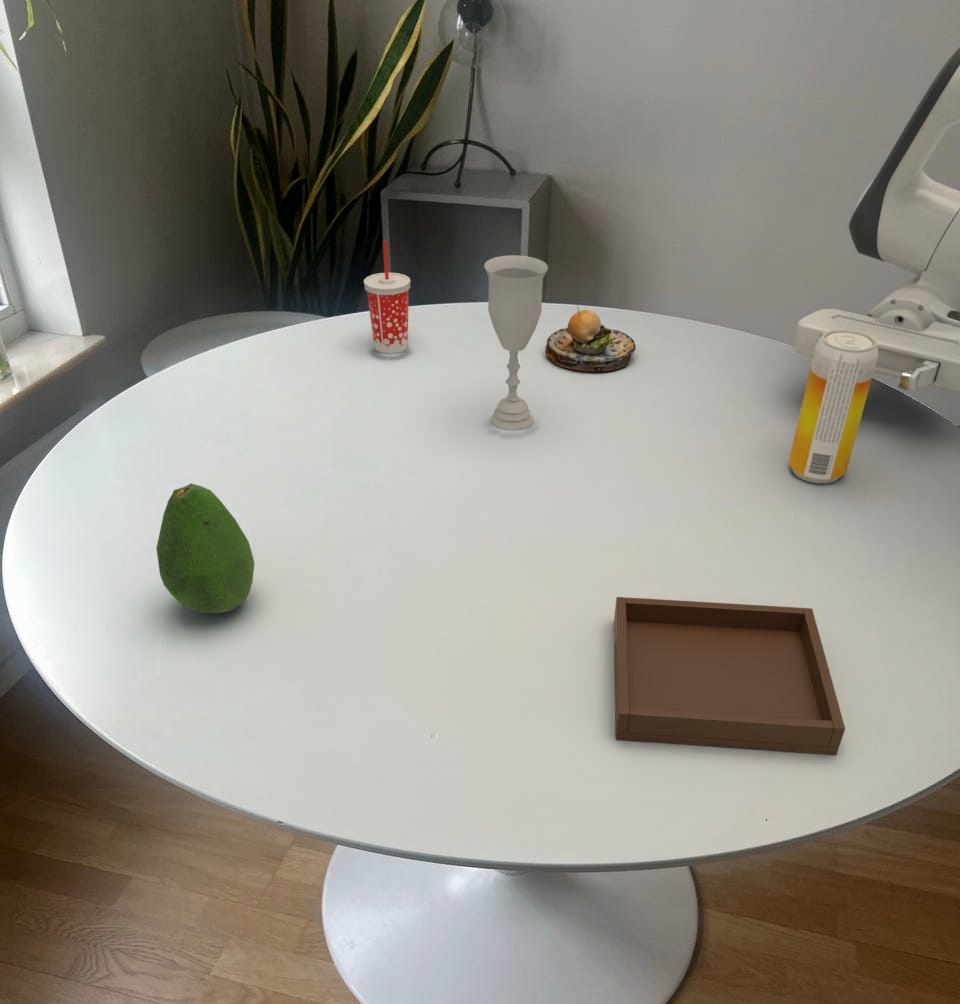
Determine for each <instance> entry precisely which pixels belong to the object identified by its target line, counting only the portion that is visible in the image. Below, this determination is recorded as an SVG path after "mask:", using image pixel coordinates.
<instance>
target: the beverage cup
mask: <svg viewBox="0 0 960 1004" xmlns="http://www.w3.org/2000/svg"><path fill="white" fill-rule="evenodd" d="M382 247H383V249H382V250H383V264H384V265H383V267H384V272H379V273H374V274H371V275H368V276H366V277H365V278H364V279H363V284H364V290H365V291H366V295H367V303H368V310H369V318H370V325H371V326H370V327H371V332H372V342H373V347H374V350H375V351H376V352H379V353H382V354H389V355H390V354H391V355H392V354H398V353H399V354H400V353H402V352H404V351H406V350H407V349H408V347H409V302H410V301H409V298H410V297H409V296H410V295H409V294H410V288H411V283H412V282H411V281H412V280H411V278H410V277H409V276H407V275H406V274H402V273H398V272H389V259H388V257H389V256H388V240H386V239H384V240H382Z"/></svg>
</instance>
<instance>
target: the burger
mask: <svg viewBox="0 0 960 1004" xmlns="http://www.w3.org/2000/svg"><path fill="white" fill-rule="evenodd" d="M575 304H576V308H577V312H575V313H574V314H572V316H571V317H570V319H569V321H568V324H567V327H565V328H560V329H558V330H556V331H555V332H553V333H551V335H549V337H548V338H547V340H546V345H545V355H546V357H547V358H550V361H551V362H552V363H553V364H555V365H558V366H560V367H563V368H566V369H570V370H575V371H582V372H610V371H615V370H619V369H621V368H622V367H626V366H628V365H629V363H630V361H631V360H630V359H631V358H632V355H633V353H634V352H635V351H636V349H637V347H636V343H635V340H634V339H633V338H632V337H631V336H629V335H628V334H627V333H624V332H623V331H620V330H617V329H612V328H607V327H606V326H605V325H604V324H602V321H601V318H600V315H598V314H597V313H596V312H594V311H592V310H590V309H583V310H579V307H578V304H577V303H575Z"/></svg>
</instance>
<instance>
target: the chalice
mask: <svg viewBox="0 0 960 1004" xmlns="http://www.w3.org/2000/svg"><path fill="white" fill-rule="evenodd" d="M483 268H484V269H485V271H486V274H487V276H488V303H487V305H488V309H487V311H488V314H489V318H490V321H491V324H492V327H493V329H494V331H495V334H496V337H497V339H498V340H499V342H500V343H499V344H500V345H501V347H502V349H503V350H506V351H508V353H509V359H508V363H507V364H506V368H507V370H508V374H509V375H508V378H507V379H506V380H505V383H506V384H507V386H508V394H507V395H506V396H505V397H504V398H501V400H499V402H498V403H496V408H495V409H494V412H493V415H492V416H491V418H490V422H491V424H492V425H493V426H495V427H496V428H499V429H502V430H507V431H508V430H509V431H519V430H523V429H526V428H528V427H531V426H532V425H533V424H534V423H533V422H534V418H533V416H532V415H531V411H530V408H529V405H528V403H527V401H525V400H524V399H523V398H521V397H520V396H518V392H517V391H518V386H519V385H520V384H521V380H520V379H519V377H518V371H519V370H520V368H521V365H520V363H519V359H518V355H519V352H521V351H523V350H525V349H526V348H527V346H528V344H529V343H530V340H531V339H532V337H533V335H534V333H535V331H536V329H537V326H538V323H539V320H540V317H541V315H542V305H543V304H542V303H543V285H544V283H543V281H544V277H546V274H547V272H548V268H549V266H548V264H547V263H546V262H545V261H543V260H541V259H538V258H536V257H531V256H527V255H517V254H516V255H515V254H513V255H502V256H495V257H493V258H490V259H488V260H487V261H486V262H485V263H484V265H483Z"/></svg>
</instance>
